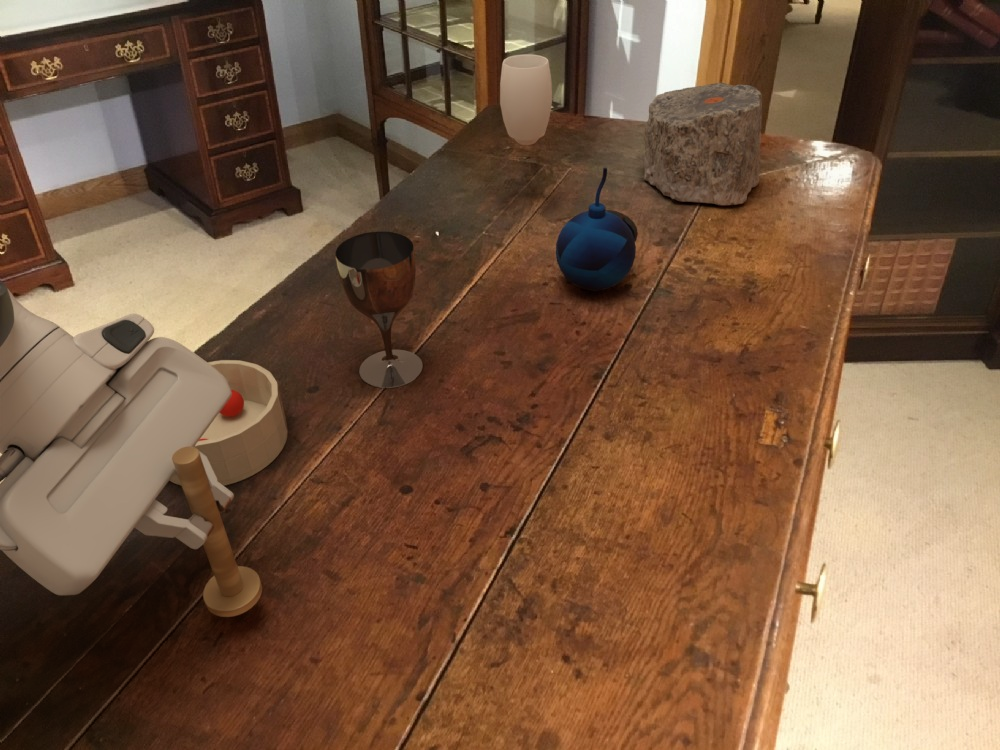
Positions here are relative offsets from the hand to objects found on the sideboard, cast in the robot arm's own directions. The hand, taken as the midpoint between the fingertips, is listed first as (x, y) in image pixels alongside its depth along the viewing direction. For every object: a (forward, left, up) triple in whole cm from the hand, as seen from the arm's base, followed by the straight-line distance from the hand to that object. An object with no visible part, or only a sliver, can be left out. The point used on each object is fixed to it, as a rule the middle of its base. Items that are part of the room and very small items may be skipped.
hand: (216, 522), depth 62 cm
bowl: (-10, +21, -11) cm, 25 cm away
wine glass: (+5, +34, -11) cm, 36 cm away
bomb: (+28, +53, -11) cm, 61 cm away
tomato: (-10, +25, -9) cm, 28 cm away
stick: (-1, 0, -8) cm, 8 cm away
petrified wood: (+44, +83, -11) cm, 95 cm away
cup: (+18, +76, -11) cm, 79 cm away
